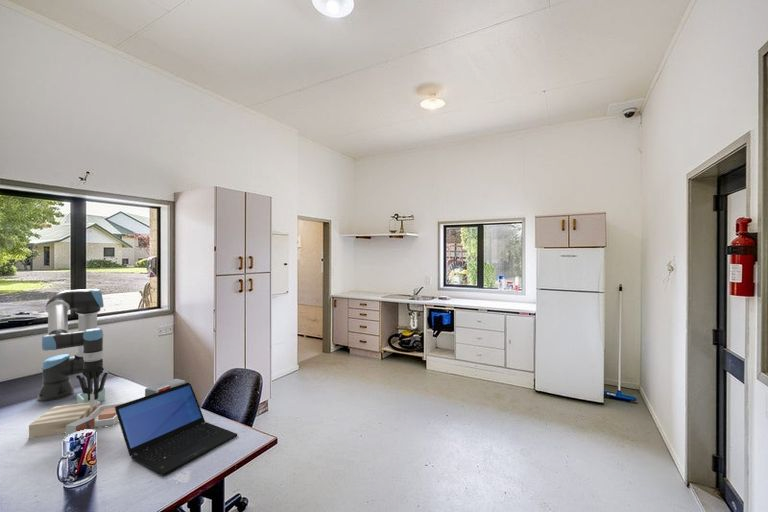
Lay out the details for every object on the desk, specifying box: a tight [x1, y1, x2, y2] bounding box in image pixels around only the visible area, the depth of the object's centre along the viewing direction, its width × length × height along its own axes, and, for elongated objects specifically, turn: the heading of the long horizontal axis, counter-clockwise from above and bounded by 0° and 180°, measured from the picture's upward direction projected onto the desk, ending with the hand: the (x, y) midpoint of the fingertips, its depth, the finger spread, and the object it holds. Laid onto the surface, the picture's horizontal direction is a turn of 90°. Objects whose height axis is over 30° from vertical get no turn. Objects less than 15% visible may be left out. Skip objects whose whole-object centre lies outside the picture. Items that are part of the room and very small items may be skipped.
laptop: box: [115, 382, 238, 476], centre depth 149 cm, size 33×38×19 cm
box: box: [88, 401, 128, 429], centre depth 171 cm, size 20×13×4 cm, turn 20°
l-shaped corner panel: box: [76, 386, 106, 407], centre depth 186 cm, size 12×12×8 cm
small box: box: [65, 417, 95, 437], centre depth 147 cm, size 8×6×10 cm
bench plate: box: [28, 401, 99, 439], centre depth 165 cm, size 20×18×6 cm
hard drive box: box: [144, 378, 186, 397], centre depth 165 cm, size 16×8×20 cm, turn 156°
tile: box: [98, 408, 117, 420], centre depth 171 cm, size 7×7×3 cm
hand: (93, 406), depth 169 cm, fingers closed
